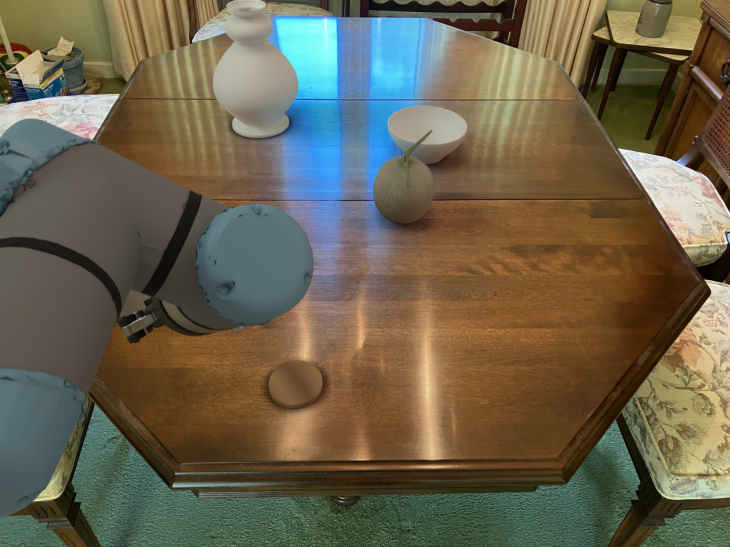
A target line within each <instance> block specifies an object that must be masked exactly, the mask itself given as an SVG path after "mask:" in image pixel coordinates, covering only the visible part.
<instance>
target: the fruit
mask: <svg viewBox="0 0 730 547" xmlns="http://www.w3.org/2000/svg"><path fill="white" fill-rule="evenodd" d="M431 132H432V130H430V131H429V132H428V133H427V134H426V135H425V136H424V137H422V138H421V139H420V140H419V141H418V142H416V143H415V144H414V145H413V146H412V147H411V148H409V149H408V150H407V151H406V152H405V153H404V152H403V155H399V156H395V157H392V158H390V159H388V160H387V161H385V162H384V163H383V164H382V165H381V167H379V169H378V171H377V173H376V175H375V178H374V181H373V185H372V186H373V188H372V195H373V202H374V205H375V207H376V209H377V212H378V213H379V214H380V215H381V216H382V217H383V218H384V219H385V220H387V221H388V222H391V223H395V224H404V225H405V224H411V223H414V222H416V221H418V220H419V219H421V218H422V217H423V216H424V215H425V214H426V213H427V211H428V210H429V208H430V206H431V204H432V202H433V199H434V195H435V180H434V176H433V174H432V172H431V170H430V168H429V167H428V166H427V164H424V163H423V162H421V161H420V160H418V159H416V158H413V157H410V154H411V153H412V152H413V151H414V150H415V148H416V147H417V146H418V145H419V144H420V143H421V142H423V141H424V140H425V139H426V138H427V136H428V135H429V134H430V133H431Z"/></svg>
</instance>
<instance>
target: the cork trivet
mask: <svg viewBox="0 0 730 547" xmlns="http://www.w3.org/2000/svg"><path fill="white" fill-rule="evenodd" d="M323 380H324V379H323V376H322V373H321V371H320V369H319V368H318V367H317V366H315V365H314V364H312V363H310V362H309V361H305V360H289V361H287V362H284V363H281V364H280V365H279V366H277V367H276V368H275V369H274V370H273V371H272V373H271V374H270V376H269V379H268V391H269V395H270V397H271V399H272V400H273V401H274V402H276V404H278V405H279V406H281V407H283V408H286V409H287V408H288V409H301V408H304V407H307V406H309V405H311V404H313V403H314V402H315V401H316V400H317V399H318V398H319V396H320V395H321V393H322V390H323V387H324V382H323Z"/></svg>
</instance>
